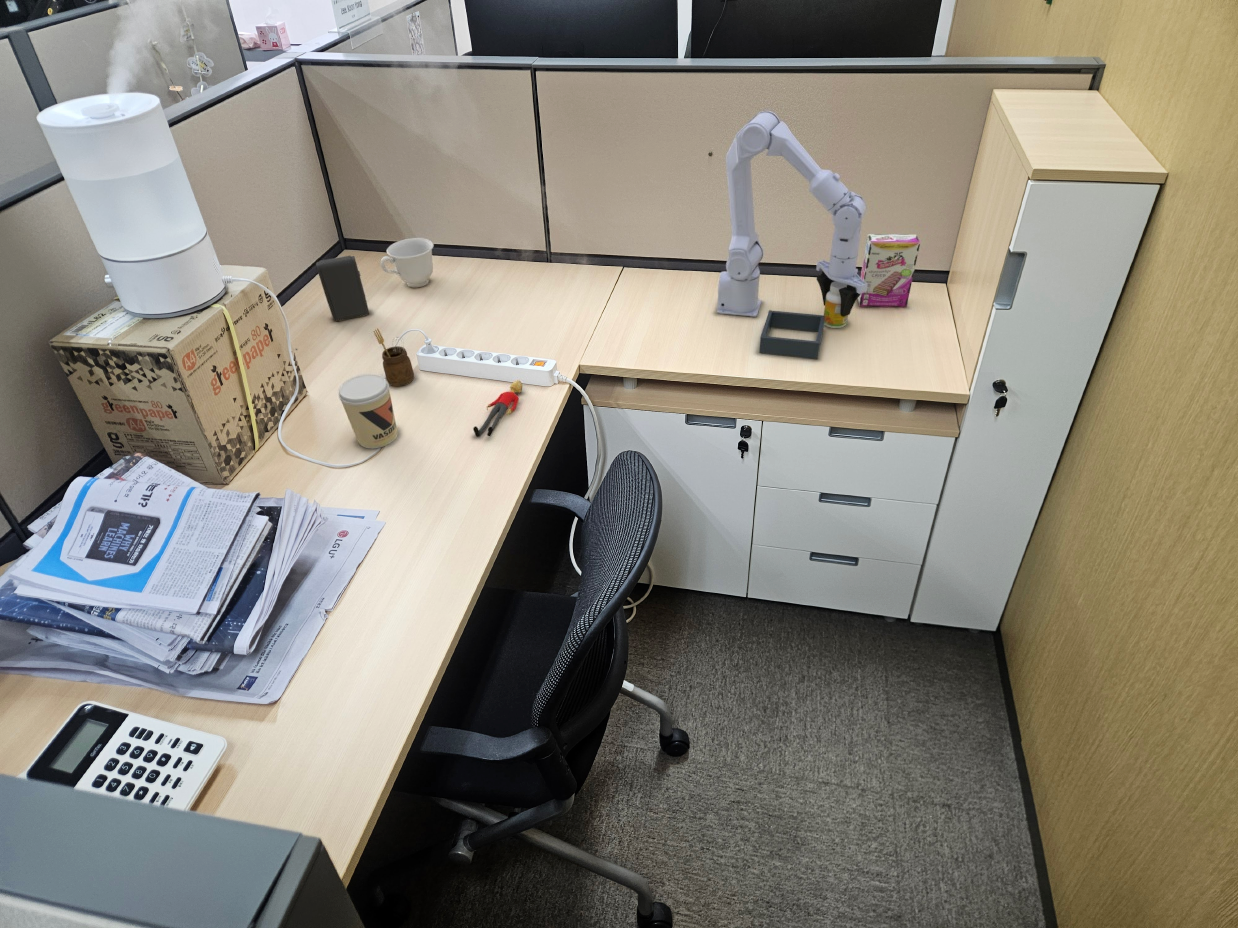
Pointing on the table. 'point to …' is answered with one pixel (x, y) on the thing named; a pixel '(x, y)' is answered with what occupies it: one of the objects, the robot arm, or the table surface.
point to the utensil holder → (396, 363)
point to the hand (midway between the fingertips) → (836, 310)
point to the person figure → (500, 408)
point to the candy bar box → (888, 269)
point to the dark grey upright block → (343, 287)
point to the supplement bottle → (834, 307)
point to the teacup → (411, 260)
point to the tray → (792, 345)
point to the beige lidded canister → (369, 409)
